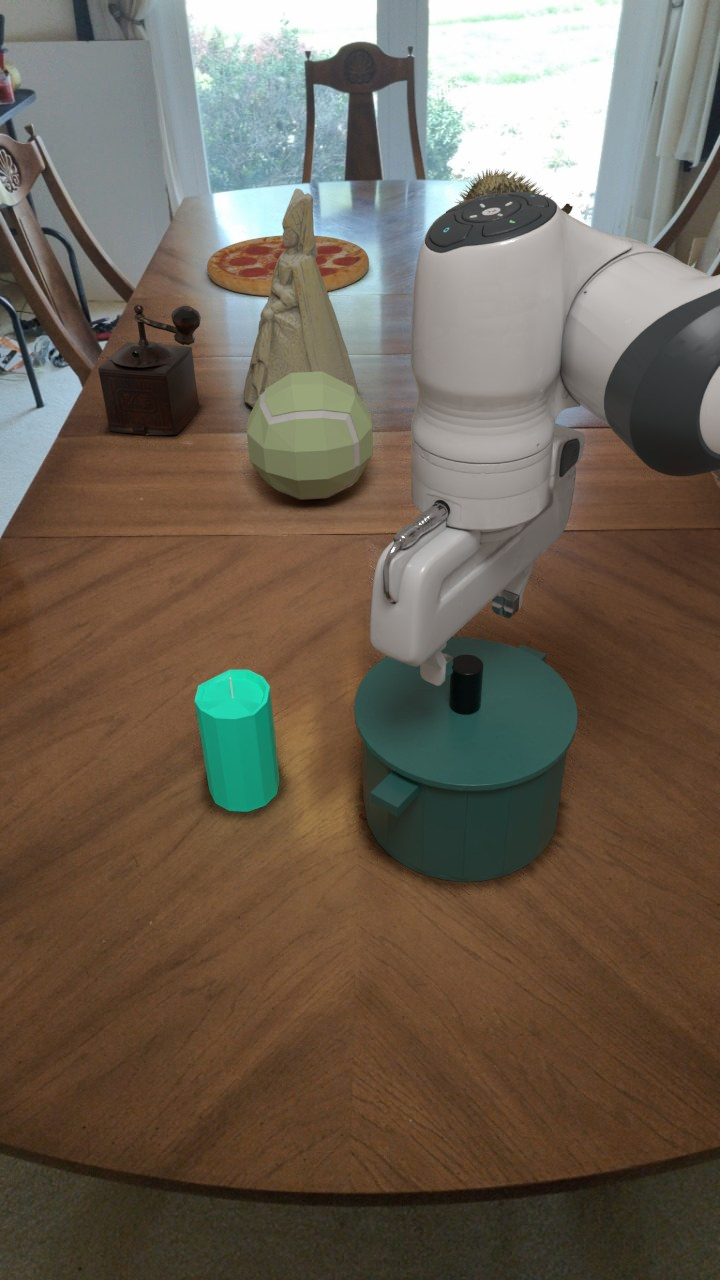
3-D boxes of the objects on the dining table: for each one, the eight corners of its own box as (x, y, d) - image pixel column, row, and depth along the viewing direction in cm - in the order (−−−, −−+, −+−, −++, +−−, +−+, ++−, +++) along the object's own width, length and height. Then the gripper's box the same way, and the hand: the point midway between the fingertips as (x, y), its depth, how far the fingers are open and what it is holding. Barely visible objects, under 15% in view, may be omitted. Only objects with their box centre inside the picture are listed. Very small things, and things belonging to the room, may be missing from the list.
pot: (605, 771, 84) (622, 677, 78) (472, 941, 71) (480, 845, 65) (450, 700, 92) (454, 609, 86) (305, 841, 79) (297, 746, 72)
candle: (276, 757, 86) (264, 650, 79) (283, 806, 82) (272, 697, 74) (207, 766, 86) (190, 659, 78) (211, 817, 81) (192, 708, 74)
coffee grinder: (105, 434, 139) (80, 306, 128) (135, 401, 147) (114, 280, 136) (209, 442, 136) (193, 313, 125) (234, 409, 144) (221, 285, 133)
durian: (455, 149, 197) (448, 175, 182) (579, 162, 195) (584, 189, 180) (444, 237, 208) (437, 268, 193) (562, 250, 206) (565, 283, 191)
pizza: (402, 268, 195) (402, 253, 194) (284, 310, 177) (283, 294, 176) (292, 238, 213) (291, 225, 211) (175, 274, 195) (173, 259, 193)
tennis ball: (377, 518, 119) (375, 401, 109) (253, 525, 118) (240, 408, 109) (367, 460, 130) (365, 351, 121) (255, 466, 130) (244, 357, 121)
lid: (614, 700, 77) (623, 648, 73) (502, 834, 66) (507, 779, 63) (434, 624, 85) (436, 574, 82) (309, 732, 74) (305, 680, 71)
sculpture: (214, 376, 150) (275, 173, 136) (322, 405, 158) (390, 216, 145) (239, 419, 137) (309, 199, 123) (355, 448, 145) (433, 245, 132)
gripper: (429, 562, 55) (427, 742, 63) (597, 426, 67) (577, 591, 76) (340, 529, 58) (350, 704, 66) (517, 405, 70) (506, 566, 79)
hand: (472, 643), depth 71 cm, fingers open, 8 cm apart
